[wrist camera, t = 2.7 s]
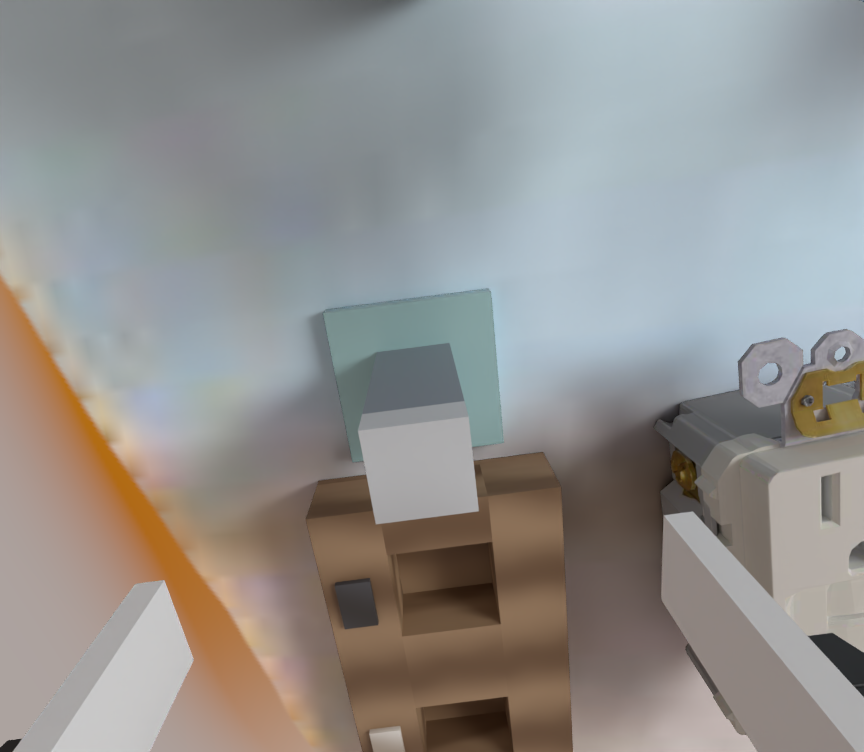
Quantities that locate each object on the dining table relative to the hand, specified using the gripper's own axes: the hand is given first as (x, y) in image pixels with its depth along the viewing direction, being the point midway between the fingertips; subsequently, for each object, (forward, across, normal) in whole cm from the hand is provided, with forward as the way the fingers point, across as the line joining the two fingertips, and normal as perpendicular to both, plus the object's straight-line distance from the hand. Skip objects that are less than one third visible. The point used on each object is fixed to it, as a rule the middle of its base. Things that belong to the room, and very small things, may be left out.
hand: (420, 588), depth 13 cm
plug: (+16, 0, 0) cm, 16 cm away
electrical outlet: (+17, +20, -12) cm, 29 cm away
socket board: (+17, 0, -18) cm, 24 cm away
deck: (+17, 0, 0) cm, 17 cm away
